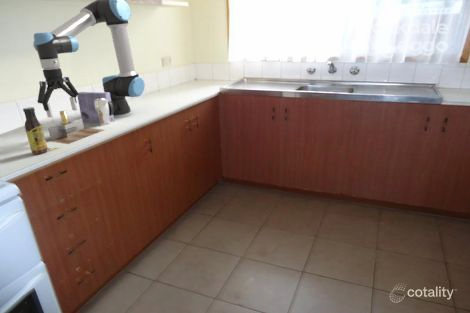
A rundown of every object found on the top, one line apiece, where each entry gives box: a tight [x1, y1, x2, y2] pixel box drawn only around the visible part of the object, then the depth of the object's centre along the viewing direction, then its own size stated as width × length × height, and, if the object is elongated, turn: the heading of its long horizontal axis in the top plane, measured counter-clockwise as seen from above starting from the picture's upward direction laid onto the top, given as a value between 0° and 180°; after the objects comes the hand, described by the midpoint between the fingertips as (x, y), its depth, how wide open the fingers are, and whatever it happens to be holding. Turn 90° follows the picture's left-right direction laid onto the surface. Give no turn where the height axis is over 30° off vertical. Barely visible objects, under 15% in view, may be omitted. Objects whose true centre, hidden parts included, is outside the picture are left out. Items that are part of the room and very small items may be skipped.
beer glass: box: [94, 98, 112, 126], centre depth 174 cm, size 7×7×15 cm
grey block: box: [55, 118, 85, 138], centre depth 161 cm, size 12×6×6 cm, turn 155°
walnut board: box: [45, 127, 105, 145], centre depth 160 cm, size 22×16×2 cm
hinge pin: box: [59, 110, 69, 125], centre depth 158 cm, size 3×3×12 cm
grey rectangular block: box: [47, 125, 77, 140], centre depth 156 cm, size 12×6×6 cm, turn 155°
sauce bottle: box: [22, 106, 49, 155], centre depth 139 cm, size 7×6×20 cm
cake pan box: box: [76, 91, 115, 124], centre depth 181 cm, size 19×5×18 cm, turn 77°
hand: (63, 113), depth 156 cm, fingers open, 13 cm apart
